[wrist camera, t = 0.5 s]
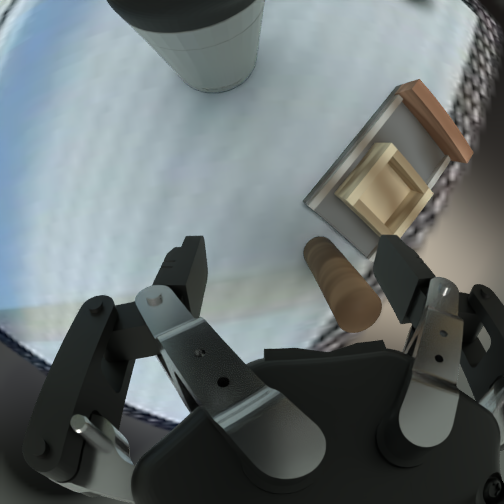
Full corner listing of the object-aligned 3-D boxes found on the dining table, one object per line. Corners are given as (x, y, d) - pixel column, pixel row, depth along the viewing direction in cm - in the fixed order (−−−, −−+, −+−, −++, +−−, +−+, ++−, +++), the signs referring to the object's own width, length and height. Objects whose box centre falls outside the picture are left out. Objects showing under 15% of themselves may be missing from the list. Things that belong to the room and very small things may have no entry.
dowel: (301, 240, 33) (335, 298, 20) (332, 233, 33) (382, 285, 20) (305, 269, 35) (338, 337, 22) (335, 263, 35) (380, 325, 21)
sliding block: (378, 235, 32) (393, 246, 28) (334, 193, 30) (346, 199, 26) (415, 188, 30) (433, 193, 26) (375, 142, 28) (391, 142, 24)
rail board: (366, 257, 34) (384, 274, 29) (302, 201, 32) (313, 211, 26) (448, 149, 29) (473, 152, 24) (396, 86, 26) (419, 78, 21)
